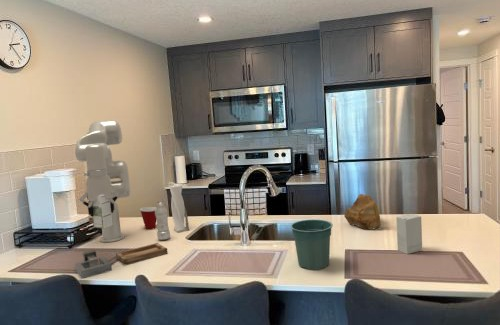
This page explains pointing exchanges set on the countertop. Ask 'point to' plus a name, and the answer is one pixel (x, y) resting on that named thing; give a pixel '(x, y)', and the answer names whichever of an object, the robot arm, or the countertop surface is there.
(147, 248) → the wooden tray
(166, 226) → the plastic bottle
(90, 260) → the grey angular block
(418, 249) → the skincare box
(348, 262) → the countertop surface
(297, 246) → the flower pot
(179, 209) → the skyscraper
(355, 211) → the rough brown rock
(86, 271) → the socket
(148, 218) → the plastic cup
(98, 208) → the syrup box
